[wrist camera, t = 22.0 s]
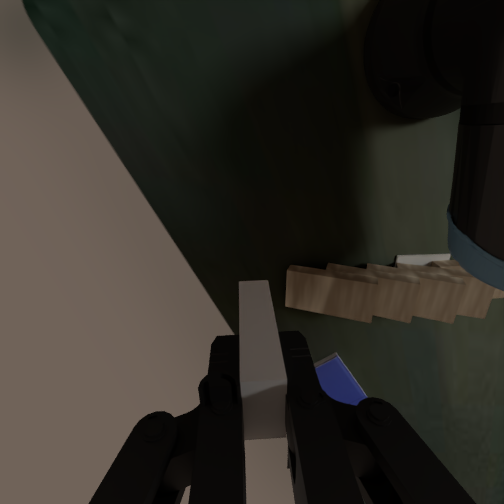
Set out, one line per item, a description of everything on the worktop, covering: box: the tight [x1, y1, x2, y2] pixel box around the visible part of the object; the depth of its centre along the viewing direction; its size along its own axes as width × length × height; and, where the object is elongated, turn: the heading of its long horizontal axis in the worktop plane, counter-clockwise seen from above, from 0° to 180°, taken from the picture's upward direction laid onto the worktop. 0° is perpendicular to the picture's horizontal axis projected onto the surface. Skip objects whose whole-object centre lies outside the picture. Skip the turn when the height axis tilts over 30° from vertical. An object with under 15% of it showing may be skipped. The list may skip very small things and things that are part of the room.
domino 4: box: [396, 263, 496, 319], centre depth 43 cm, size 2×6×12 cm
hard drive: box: [314, 352, 367, 405], centre depth 54 cm, size 2×8×12 cm
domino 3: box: [366, 263, 466, 324], centre depth 42 cm, size 2×6×12 cm
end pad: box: [395, 254, 451, 268], centre depth 46 cm, size 8×8×1 cm
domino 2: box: [326, 263, 421, 323], centre depth 42 cm, size 2×6×12 cm
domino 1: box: [285, 265, 378, 323], centre depth 42 cm, size 2×6×12 cm
